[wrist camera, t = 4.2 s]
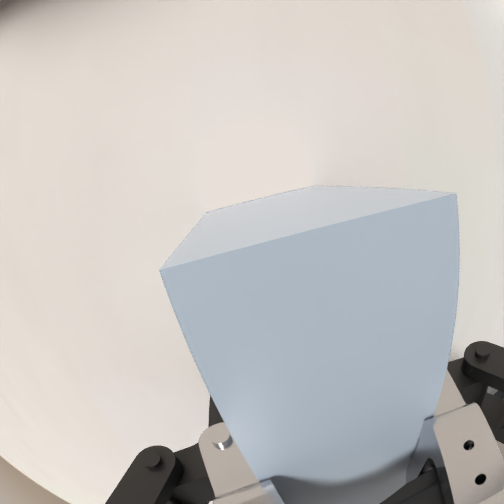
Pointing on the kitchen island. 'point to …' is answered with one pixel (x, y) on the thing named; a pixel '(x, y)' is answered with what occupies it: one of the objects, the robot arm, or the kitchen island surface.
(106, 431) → the kitchen island surface
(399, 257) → the panel
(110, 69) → the kitchen island surface
